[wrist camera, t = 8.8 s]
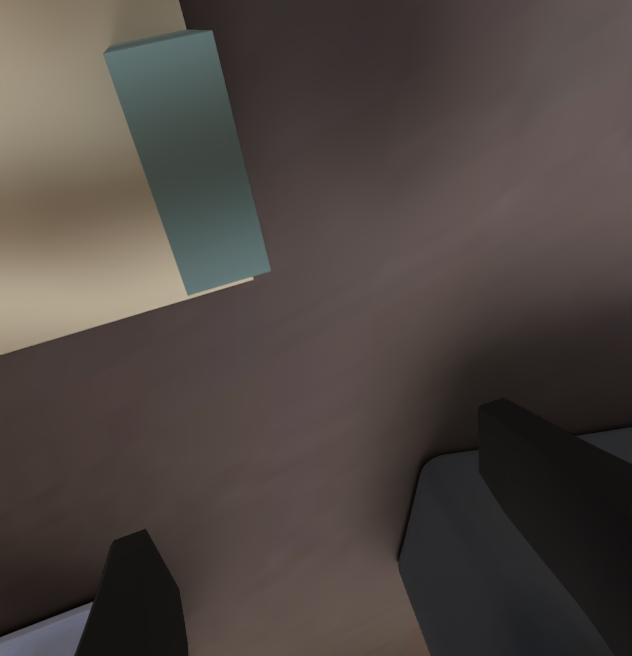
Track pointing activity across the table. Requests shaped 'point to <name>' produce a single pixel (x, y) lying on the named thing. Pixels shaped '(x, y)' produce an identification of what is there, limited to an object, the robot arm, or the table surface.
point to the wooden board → (114, 167)
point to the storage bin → (488, 569)
